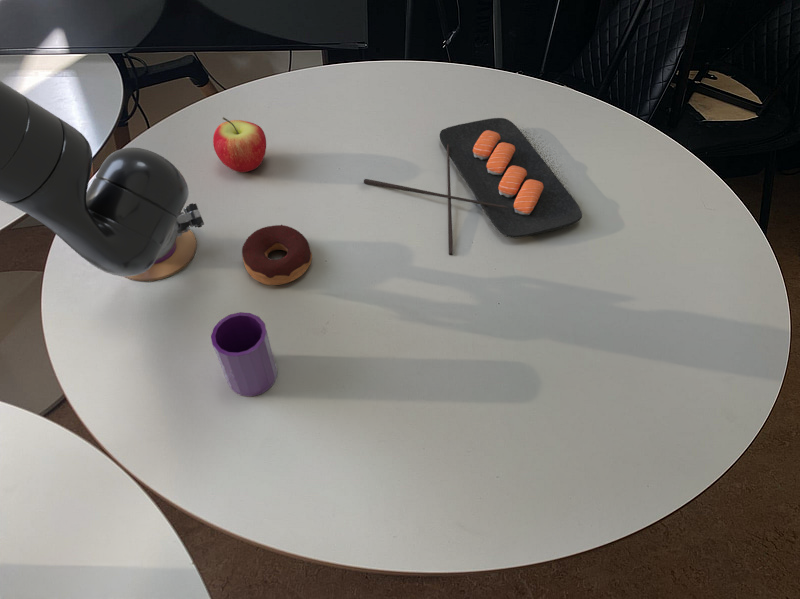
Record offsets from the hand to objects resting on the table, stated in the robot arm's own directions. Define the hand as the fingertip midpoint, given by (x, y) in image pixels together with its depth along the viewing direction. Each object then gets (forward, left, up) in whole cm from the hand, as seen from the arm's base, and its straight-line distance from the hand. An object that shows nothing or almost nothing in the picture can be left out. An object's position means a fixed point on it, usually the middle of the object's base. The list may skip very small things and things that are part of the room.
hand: (147, 236), depth 81 cm
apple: (+15, +21, -8) cm, 27 cm away
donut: (+16, -3, -8) cm, 18 cm away
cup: (+9, -21, -8) cm, 24 cm away
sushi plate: (+48, +4, -8) cm, 49 cm away
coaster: (-1, +5, -8) cm, 9 cm away
